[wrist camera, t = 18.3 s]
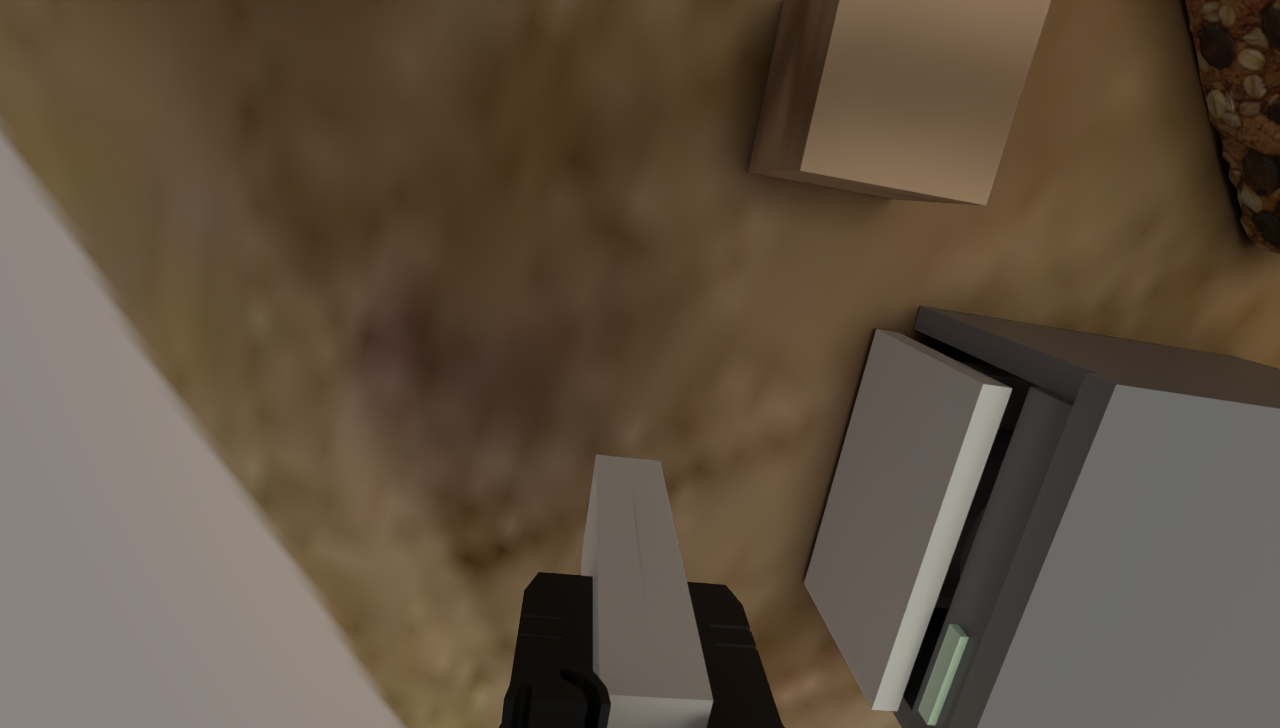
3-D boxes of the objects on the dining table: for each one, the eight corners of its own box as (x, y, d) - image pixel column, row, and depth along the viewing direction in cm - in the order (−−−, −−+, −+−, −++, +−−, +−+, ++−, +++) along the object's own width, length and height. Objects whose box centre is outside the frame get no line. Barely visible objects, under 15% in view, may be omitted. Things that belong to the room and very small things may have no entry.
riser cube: (783, 0, 22) (853, -63, 16) (937, 34, 23) (1055, -14, 17) (747, 172, 24) (799, 170, 18) (892, 199, 24) (986, 205, 19)
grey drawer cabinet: (902, 303, 26) (1105, 382, 16) (1234, 356, 28) (1599, 456, 18) (815, 602, 30) (931, 817, 20) (1109, 629, 32) (1350, 836, 22)
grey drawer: (876, 328, 26) (983, 384, 19) (1197, 378, 28) (1400, 444, 21) (804, 583, 29) (871, 709, 22) (1094, 611, 31) (1238, 734, 24)
